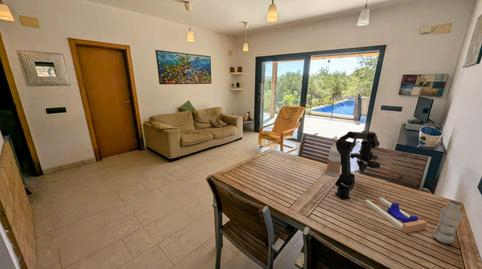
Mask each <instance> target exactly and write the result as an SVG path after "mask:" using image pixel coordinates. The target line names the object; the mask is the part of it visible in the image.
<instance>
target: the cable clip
mask: <svg viewBox="0 0 482 269" xmlns="http://www.w3.org/2000/svg"><path fill="white" fill-rule="evenodd" d="M400 209H401V208H400V204H399V203H398V202H391V208H389V207H387V210H386V211H387V212H386V213H388V214H389V215H390V216H392V217H393V218H395V219H396V220H398V221H399V220H400V222H401V223H402V224H403V223H408V222H413V221H418V220H419V217H418V216H417V215H410V217H409V218H406V217H405V216H403V215H402V213H401V212H400Z"/></svg>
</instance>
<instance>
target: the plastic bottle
mask: <svg viewBox="0 0 482 269" xmlns="http://www.w3.org/2000/svg"><path fill="white" fill-rule="evenodd" d="M461 209H462V204H461V203H460V202H458V201H455V200H449V201H448V203H447V205H446V206H444V207H442V208H441V210H440V216H439V221H438V224H437V226H436V228H435V229H434V230H433V237H434V239H435V240H436V241H439V242H440V243H443V244H446V245H451V244H453V242H454V241H455V234H456V230H457V227H458V225H459V224H460V222H461V221H462V219H463V213H462V211H461Z"/></svg>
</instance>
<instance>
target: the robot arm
mask: <svg viewBox="0 0 482 269" xmlns="http://www.w3.org/2000/svg"><path fill="white" fill-rule="evenodd" d="M338 139H339V140H338V141H337V142H336V148H337V151H338V152H339V153H340V157H341V168H340V171H341V174H339V177H338V178H337V180H336V181H335V183H334V184H335V186H336V187H337V191H336V192H335V193H334V195H335V196H336V197H337V198H339V199H340V200H341V201H342V200H348V199H351V196H350V192H351V191H353V190H354V186H355V184H356V176H355V173H352V168H351V159H356V161H355V162H356V163H357V165H358V168H359V171H360V172H361V173H364V172H365V170H366V169H367V167H368V168H371V169H378V168H381V164H380V162H377V160H378V158H379V156H378V155H376V154H374V153H373V152H372V150H373V149H376V148H379V147H380V141H379V140H378V136H377V133H376V132H375V131H370V130H369V131H368V130H362V131H360V132H359V131H348V132H347V133H345V134H344V135H342V136H340V137H339V138H338ZM348 139H352V140H353V141H350V140H349V141H348ZM357 140H363V141H361V142H360V145H361V146H360V150H359V151H358V152H354V153H352V152H353V150H354V148H355V146H357Z"/></svg>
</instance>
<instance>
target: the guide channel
mask: <svg viewBox="0 0 482 269" xmlns="http://www.w3.org/2000/svg"><path fill="white" fill-rule="evenodd" d="M378 202H380V203H382V204H383V205H385V206H386V207H387V208H391V204H392V202H390V201H388V200H386V199H385V198H383V197H379V198H378ZM364 204H366V205H367V206H368V207H369V208H371V209H372V210H373V211H375V212H376V213H377V214H379V215H380V216H382V217H383V218H385V219H386V220H387V221H388V222H390V223H391V224H393V225H394V226H395V227H397V228H398V229H399V230H401V231H402V232H403V233H404V234H409V233H414V232H418V231H422V230H426V228H427V223H428V222H427V221H426V220H424V219H418V221H413V222H408V223H403V222H401V221H399V220H396V219H395V218H394V217H393V216H391V215H390V214H389V213H388V212H386V211H385V210H383V209H382V208H381V207H379V206H377V205H376V204H375V203H373V202H372V201H371V200H369V199H365V201H364ZM399 209H400V212H401V213H402V215H403V216H405V217H406V218H409V217H410V216H411V215H410V214H408V213H407V212H405V211H404V210H402V209H401V208H399Z"/></svg>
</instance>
